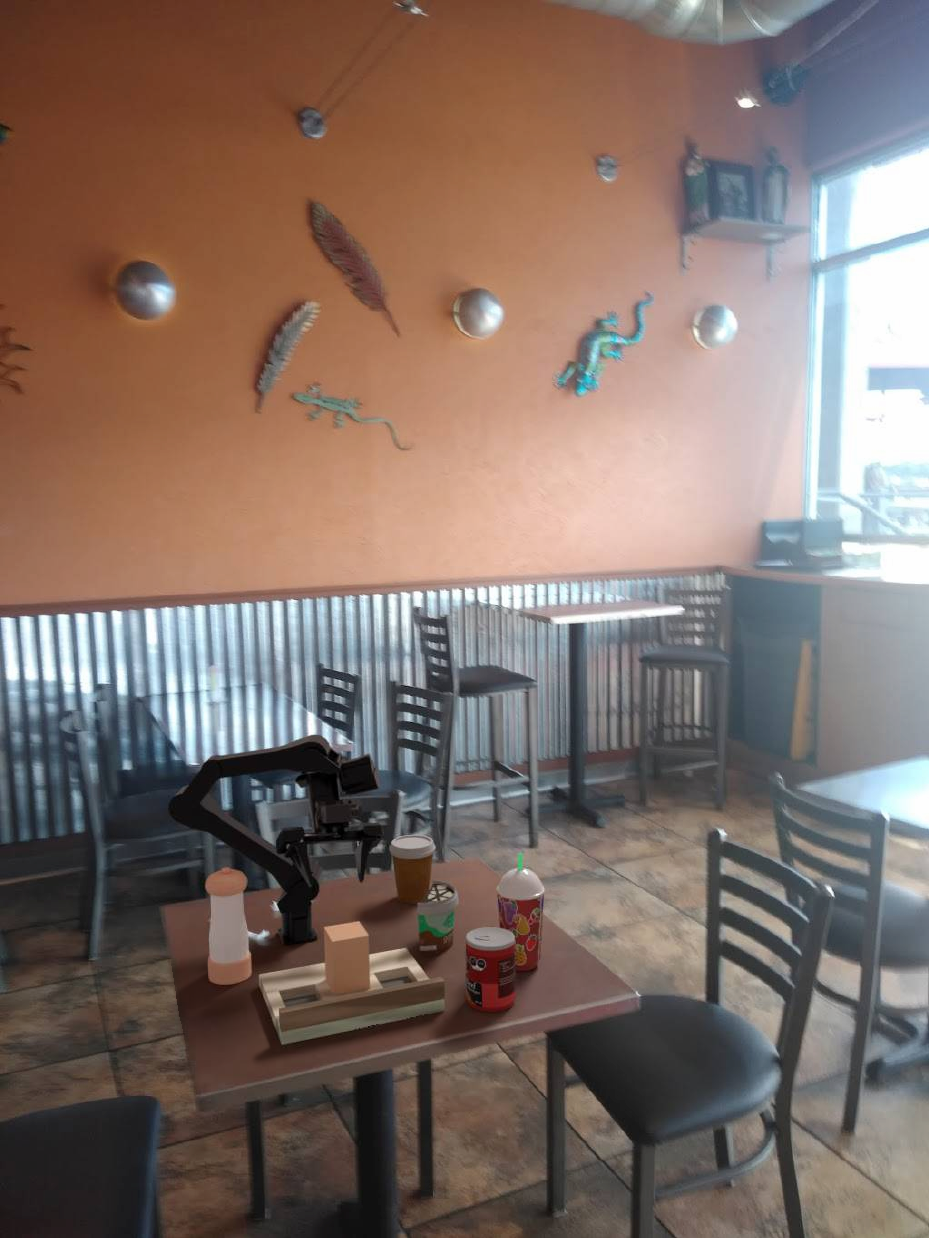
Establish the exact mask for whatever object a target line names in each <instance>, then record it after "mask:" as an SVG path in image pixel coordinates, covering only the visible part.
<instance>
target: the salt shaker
mask: <svg viewBox="0 0 929 1238" xmlns="http://www.w3.org/2000/svg"><path fill="white" fill-rule="evenodd" d="M205 880H206V881H205V885H204V886H205V890H206V892H207V893H208V894H209V895H210V914H211V915H210V916H211V917H210V923H209V924H210V925H209V933H208V934H209V935H208V944H209V945H208V946H209V947H208V948H209V950H208V951H209V955H208V957H207V972H208V973H207V974H208V980H209V981H210V982H211V983H213V984H216V985H221V986H223V985H224V986H228V985H234V984H235V985H236V984H238V983H242V982H243V981H246V980H247V979H249V978H250V977H251V976H252V953H251V951H250V950H249V931H248V926H247V921H246V917H245V916H246V915H245V906H244V905H245V904H244V903H245V902H244V891H245V890H246V887H247V885H248V878H247V876H246V874H245V873H244V872H243V871H241V870H237V869H233V868H231V867H227V866H225V867H222V868H221V869H220V870H217V871H216V872H213V873H211V874H210V875H209V876H208V877H207V879H205Z"/></svg>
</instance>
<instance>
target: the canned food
mask: <svg viewBox="0 0 929 1238" xmlns="http://www.w3.org/2000/svg"><path fill="white" fill-rule="evenodd" d="M465 972H466V973H465V979H466V981H465V985H466V986H465V987H466V988H465V989H466V992H465V993H466V994H465V995H466V999H467V1002H468V1004H469V1006H470V1007H471V1008H473V1009H475V1010H477V1011H481V1012H485V1013H497V1012H502V1011H505V1010H508V1009H510V1008H511V1007H513V1005H514V1004H515V1000H516V970H515V936H514V934H513V933H512V932H510V931H508V930H506V929H503V928H500V927H498V926H497V927H496V926H484V927H478V928H474V929H472V930H471V931H469V932H468V933H466V935H465Z"/></svg>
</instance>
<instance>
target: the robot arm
mask: <svg viewBox="0 0 929 1238" xmlns="http://www.w3.org/2000/svg"><path fill="white" fill-rule="evenodd" d="M271 771H272V772H273V771H290V772H295V773H300V774H299V775H297V776H296V777H295V780H294V781H295V783H296V784H297V785H298V786H299V788H300V789H303V788H307V795H308V803H309V809H310V813H309V819H310V820H311V823H312V832H310V833H309V832H308V833H305V829H304V827H303V826H292V827H291V826H290V827H283V828H282V829H281V831H280V832H279V834H278V836H277V838H276V840H275V845H274V844H272V843H271V842H270V841H268V840H266V839H265V838H264V837H262V835H261V836H260V835H259V834H258V833H256V832H254V831H253V830H251V829H250V828H248V827H247V826H245V825H244V824H243V823H241V822H240V821H238V820H236V819H235V818H233V817H231V816H230V815H229V814H227V813H226V812H224V810H222V808H221V807H220V805H219V804H218V802H217V800H216V799H215V798H214V797H213V796H212V795H211V794H210V792H211V790H212V789H213V788H214V787H215V785H217V784H216V783H217V782H218V781H219V780H220V779H226V778H232V777H233V778H234V777H240V776H245V775H246V776H247V775H254V774H259V773H268V772H271ZM378 771H379V770H378V769H377V767H376V765H375V762H374V761H373V759H372V755H371V754H370V753H365V754H363V755H360V756H358V757H355V758H351V759H347V760H346V759H345V757H343V756H342V755H341V754H339V753H338V752H337V751H336V750H334V749H333V748H332V747H331V744H330V743H329V741H328V739H326V737H323V735H321V734H311V735H306V736H303V737H301V738H298V739H296V740H293V741H290V742H288V743H285V744H283V745H281V746H276V747H270V748H269V747H268V748H262V749H255V750H249V751H241V752H235V753H229V754H214V755H211V756H210V757H208V758H207V759H206V761H205V762H203V764H202V765H201V768H200V770H199V771H198V773H196V775H195V776H194V778H193V779H192V780H191V781H190V783H189V784H187V785H185V786H182V788H181V789H180V790H179V791H178V792H177V793H176V794H175V795H174V796H173V797H172V798H171V799H170V800H169V803H168V807H167V808H168V814H169V817H170V819H171V820H172V821H174V822H175V823H176V824H179V825H181V826H184V827H185V828H188V829H190V830H194V831H198V832H204V833H207V834H208V835H211V836H213V837H215V838H216V839H217V840H218V841H220V842H221V843H223V844H225V845H227V847H229V848H230V849H232V850H234V851H235V852H237V853H239V854H240V855H241V856H244V857H245V858H246V859H247V860H249V861H251V862H252V863H254V864H256V865H257V866H258V867H260V868H261V869H263V870H264V871H265V872H267V873H269V874H270V875H271V876H272V877H273V878H274V879H275V881H276V883H277V884H278V885H279V886H280V888H281V891H282V892H281V894H280V896H279V897H278V900H277V902H276V907H277V908H278V911H279V913H280V916H281V917H280V918H281V928H278V929H277V935H278V936H279V938H280V940H281V943H282V944H283V945H285V946H286V945H293V944H298V943H303V942H309V941H315V940H316V941H317V940H318V939H319V936H318V934H317V932H316V930H315V929H314V927H313V903H312V901H314V900H315V899H316V898H317V897H318V896H319V893H320V890H321V888H322V885H323V882H324V871H323V868H322V867H321V866H320V864H318V861H319V860H318V859H316V858H312V857H311V856H309V855H308V845H317V844H318V845H319V844H321V845H322V844H335V843H351V842H353V843H354V846H355V847H356V849H355V850H354V857H355V864H356V872H357V877H358V880H359V883H363V882H364V880H365V874H366V868H367V862H368V858H369V854H370V852H372V850H373V849H374V848H376V847H378V845H380V843H381V842H382V840H383V838H384V837H385V831H384V826H382V824H380V822H365V823H364V822H363V823H360V825H359V826H358V828H357V830H346V829H348V828H349V826H350V823H353V822H354V820H353V818H360V817H362V816H363V807H362V801H361V798H351V799H349V800H348V801H347V803H345V804H344V800H343V799H341V794H340V793H341V792H340V788H341V791H342V792H343V794H344V793H345V795H349V797H354V796H358V795H363V794H366V793H370V792H374V791H379V790H381V782H380V776H379V772H378ZM339 784H340V786H339Z"/></svg>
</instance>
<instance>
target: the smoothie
mask: <svg viewBox="0 0 929 1238" xmlns="http://www.w3.org/2000/svg"><path fill="white" fill-rule="evenodd" d="M545 889H546V888H545V887H544V884H543V883H542V881H541V880H540V877H539V876H538V875H537V874H536V873H535V872H534V871H533V870H530V869H528V868H524V867H523V853H522V852H521V853H520V852H519V853H518V867H516V868H513V869H510V870H509V871H508V872H506V873H505V874H504V875H503V877H501V880H500V883H499V885H497V887H496V893H497V896H496V897H497V907H498V920H499V921H498V922H499V928H503V929H506V930H508V931H510V932H512V933H513V934H514V936H515V972H516V971H517V972H527V971H528V972H529V971H530V970H531V971H532V970H533V969H536V967H538V964H539V962H540V960H541V958H542V957H541V955H542V954H541V953H542V939H543V937H542V936H543V935H542V934H543V919H544V918H543V917H544V901H545Z"/></svg>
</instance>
